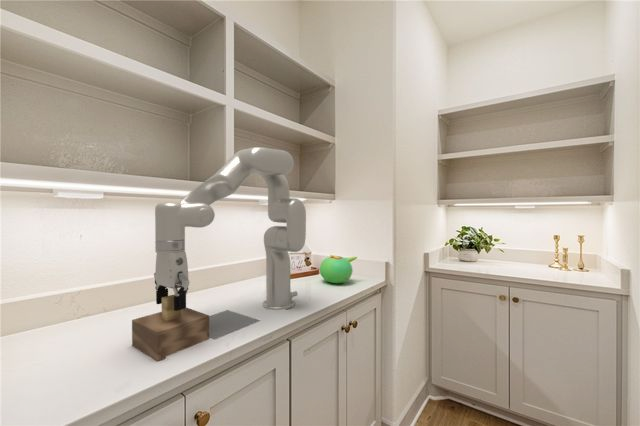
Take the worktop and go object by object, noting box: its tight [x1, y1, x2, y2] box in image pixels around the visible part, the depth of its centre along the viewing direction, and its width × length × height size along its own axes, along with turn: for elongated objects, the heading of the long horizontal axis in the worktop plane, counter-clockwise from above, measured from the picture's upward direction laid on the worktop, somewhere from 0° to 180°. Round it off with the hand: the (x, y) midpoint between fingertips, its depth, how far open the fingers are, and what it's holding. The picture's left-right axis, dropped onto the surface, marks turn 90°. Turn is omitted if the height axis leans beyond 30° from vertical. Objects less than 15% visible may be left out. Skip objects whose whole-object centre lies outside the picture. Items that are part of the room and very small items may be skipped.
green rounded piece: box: [319, 254, 358, 284], centre depth 154 cm, size 18×17×15 cm
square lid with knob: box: [131, 293, 210, 362], centre depth 84 cm, size 15×15×13 cm
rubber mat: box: [209, 309, 262, 340], centre depth 97 cm, size 18×18×1 cm
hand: (170, 306), depth 84 cm, fingers open, 9 cm apart
